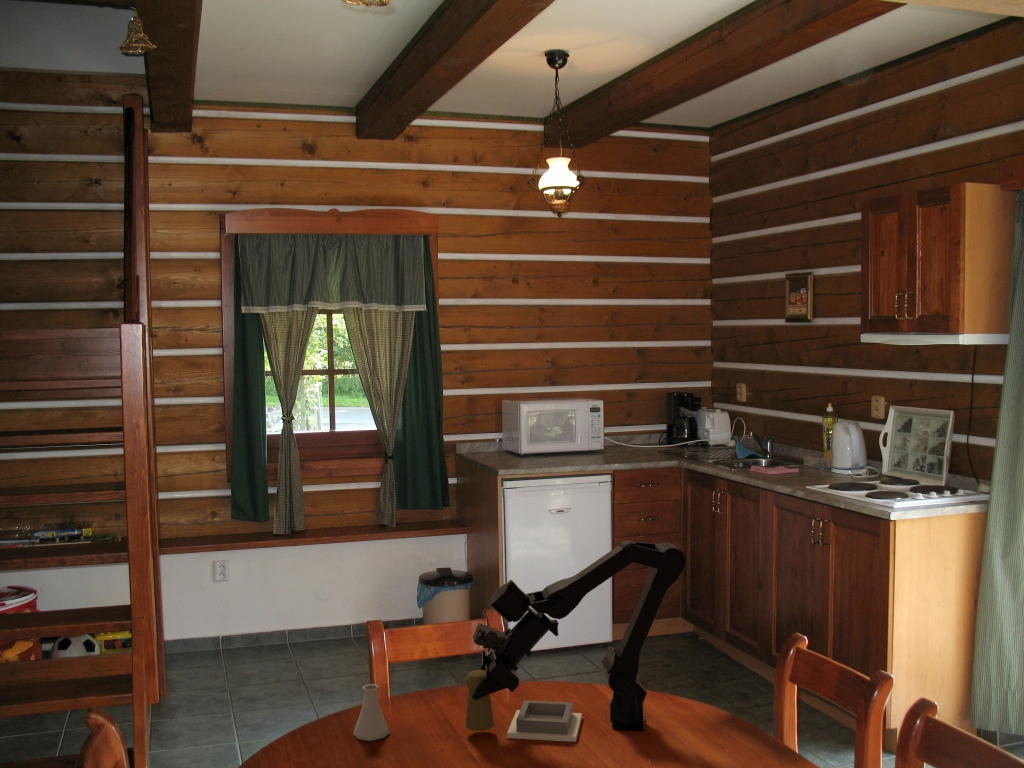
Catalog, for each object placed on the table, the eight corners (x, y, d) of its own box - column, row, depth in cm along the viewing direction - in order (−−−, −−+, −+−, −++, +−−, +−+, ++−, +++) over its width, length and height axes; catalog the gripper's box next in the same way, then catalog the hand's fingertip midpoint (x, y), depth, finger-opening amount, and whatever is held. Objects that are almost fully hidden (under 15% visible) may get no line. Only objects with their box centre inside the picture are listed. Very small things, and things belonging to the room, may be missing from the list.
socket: (581, 717, 197) (581, 701, 196) (575, 741, 185) (575, 724, 185) (517, 714, 199) (516, 698, 199) (507, 737, 187) (506, 720, 187)
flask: (346, 735, 190) (345, 687, 190) (374, 724, 195) (373, 677, 195) (368, 745, 185) (367, 696, 185) (396, 733, 190) (395, 686, 190)
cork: (494, 730, 186) (492, 676, 186) (464, 731, 186) (462, 677, 186) (495, 718, 192) (493, 666, 192) (466, 719, 192) (464, 667, 192)
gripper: (490, 598, 198) (441, 653, 197) (500, 624, 179) (445, 684, 179) (528, 632, 199) (479, 686, 198) (541, 661, 181) (487, 721, 180)
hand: (472, 693), depth 189 cm, fingers closed on cork, 5 cm apart
